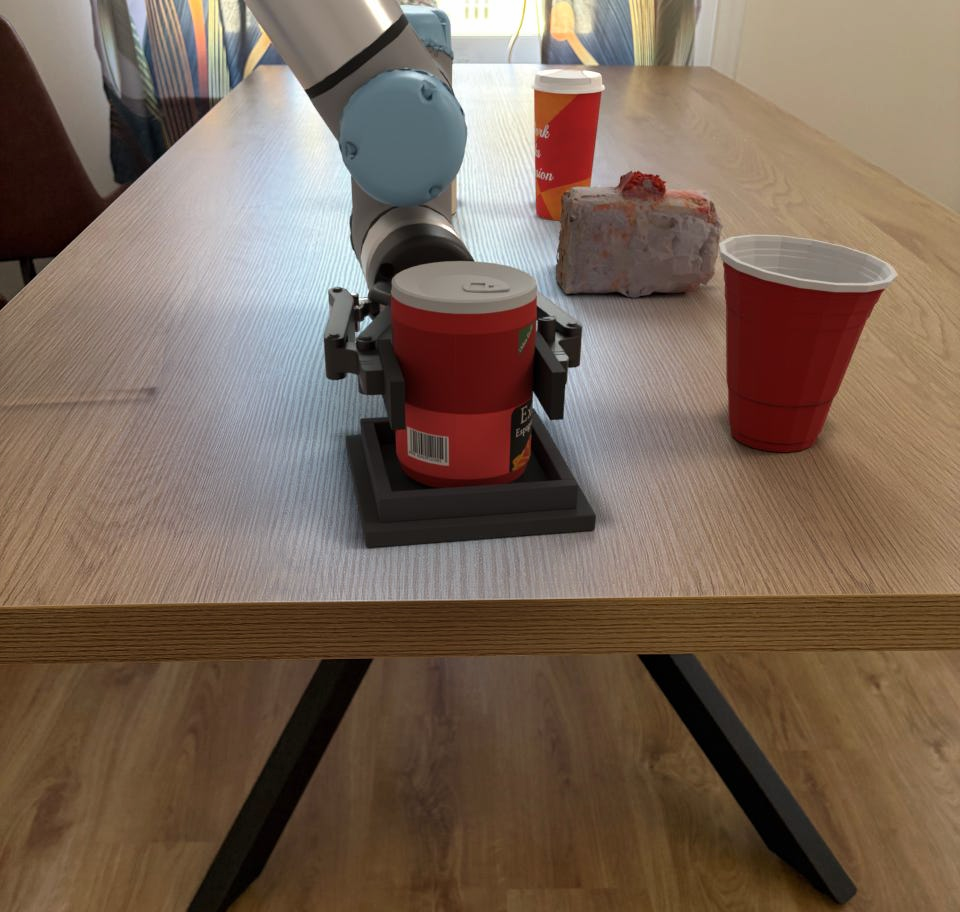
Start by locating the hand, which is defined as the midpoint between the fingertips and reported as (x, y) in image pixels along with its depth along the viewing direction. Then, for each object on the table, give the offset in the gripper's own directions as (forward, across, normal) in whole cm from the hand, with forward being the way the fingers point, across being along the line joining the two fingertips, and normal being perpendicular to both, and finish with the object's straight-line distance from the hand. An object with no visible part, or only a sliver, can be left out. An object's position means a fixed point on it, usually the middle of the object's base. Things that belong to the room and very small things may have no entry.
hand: (478, 400), depth 60 cm
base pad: (-5, 0, -7) cm, 9 cm away
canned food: (-5, 0, -6) cm, 8 cm away
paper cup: (-69, -22, -8) cm, 73 cm away
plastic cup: (-9, -22, -8) cm, 25 cm away
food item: (-42, -22, -8) cm, 48 cm away
